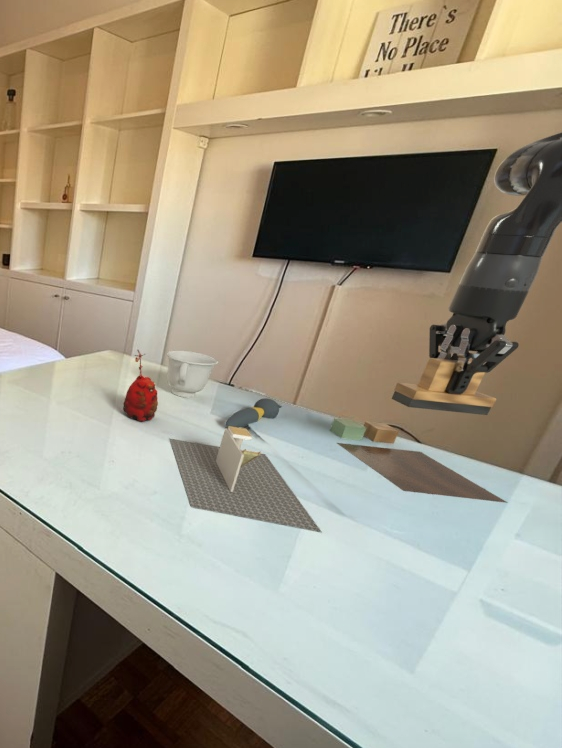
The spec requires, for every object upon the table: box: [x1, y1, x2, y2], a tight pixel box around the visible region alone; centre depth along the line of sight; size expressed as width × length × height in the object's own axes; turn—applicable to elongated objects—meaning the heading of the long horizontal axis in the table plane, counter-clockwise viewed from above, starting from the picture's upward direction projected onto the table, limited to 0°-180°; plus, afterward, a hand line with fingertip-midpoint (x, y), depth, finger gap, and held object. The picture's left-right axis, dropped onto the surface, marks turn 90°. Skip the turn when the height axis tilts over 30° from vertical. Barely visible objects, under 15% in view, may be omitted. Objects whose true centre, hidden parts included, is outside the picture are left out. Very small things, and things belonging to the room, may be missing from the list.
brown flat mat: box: [336, 442, 509, 504], centre depth 83 cm, size 16×18×1 cm
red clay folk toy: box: [122, 349, 159, 422], centre depth 99 cm, size 8×7×15 cm
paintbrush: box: [225, 397, 283, 428], centre depth 101 cm, size 20×5×5 cm, turn 126°
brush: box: [391, 357, 497, 416], centre depth 76 cm, size 12×4×8 cm, turn 82°
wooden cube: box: [363, 421, 400, 445], centre depth 95 cm, size 4×4×4 cm
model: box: [215, 426, 262, 492], centre depth 77 cm, size 3×11×8 cm, turn 165°
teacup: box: [166, 350, 219, 399], centre depth 115 cm, size 12×15×10 cm
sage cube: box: [329, 417, 366, 441], centre depth 96 cm, size 4×4×4 cm
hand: (445, 389), depth 76 cm, fingers closed on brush, 2 cm apart
